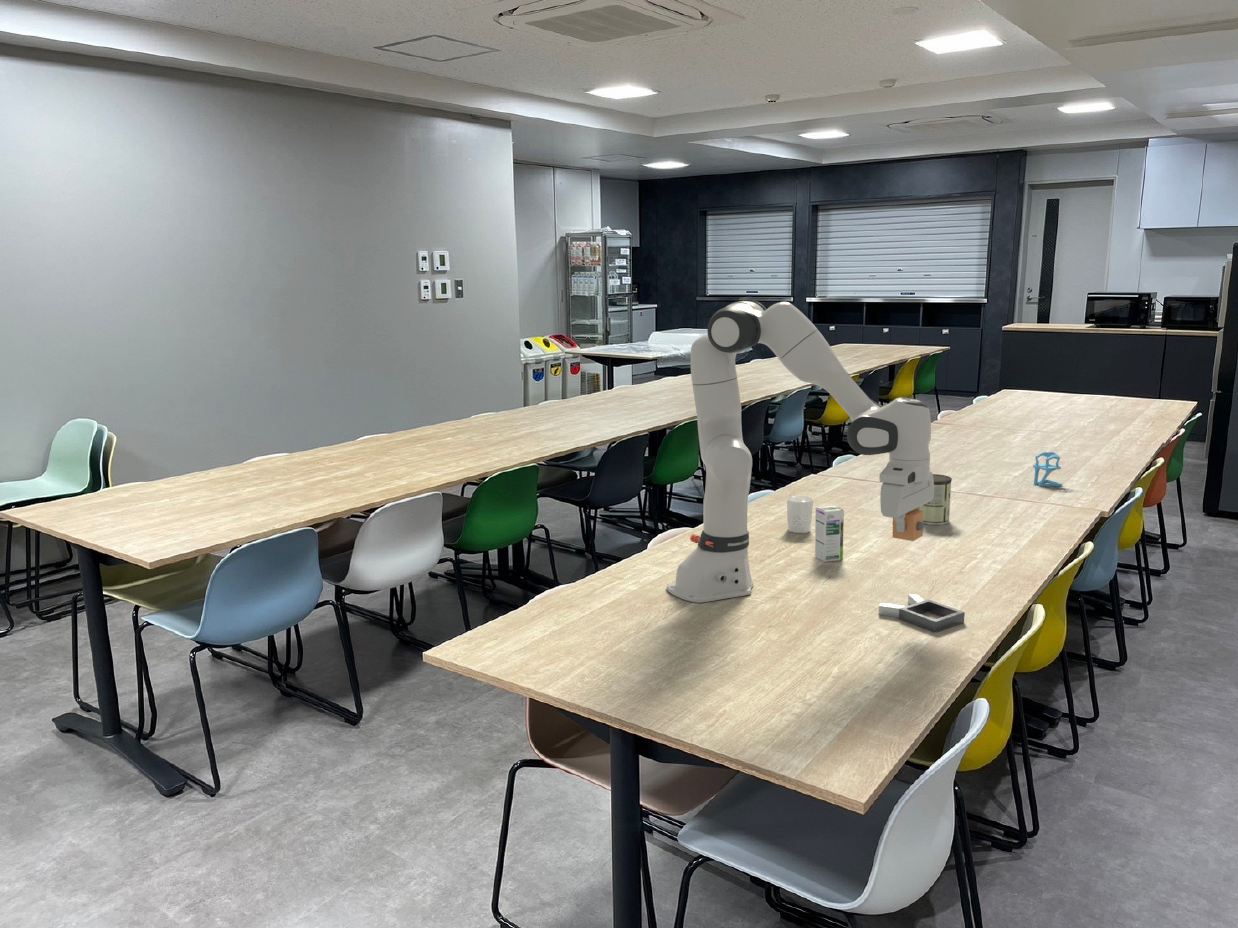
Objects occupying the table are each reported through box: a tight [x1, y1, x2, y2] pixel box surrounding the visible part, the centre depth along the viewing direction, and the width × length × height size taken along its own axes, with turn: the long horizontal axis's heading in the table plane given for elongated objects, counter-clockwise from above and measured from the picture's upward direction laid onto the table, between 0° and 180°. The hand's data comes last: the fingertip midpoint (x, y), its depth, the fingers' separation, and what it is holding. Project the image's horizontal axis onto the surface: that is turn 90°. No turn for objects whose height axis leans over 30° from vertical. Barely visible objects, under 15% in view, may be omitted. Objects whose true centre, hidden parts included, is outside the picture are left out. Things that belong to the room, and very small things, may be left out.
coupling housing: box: [878, 593, 965, 633], centre depth 207 cm, size 13×16×2 cm
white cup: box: [786, 495, 814, 534], centre depth 277 cm, size 8×8×10 cm
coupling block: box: [891, 510, 925, 542], centre depth 208 cm, size 5×7×6 cm
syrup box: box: [814, 505, 845, 563], centre depth 249 cm, size 6×6×14 cm
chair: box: [1032, 451, 1063, 488], centre depth 328 cm, size 8×8×12 cm
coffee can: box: [922, 473, 953, 526], centre depth 284 cm, size 10×10×14 cm
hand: (907, 527), depth 208 cm, fingers closed on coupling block, 5 cm apart
